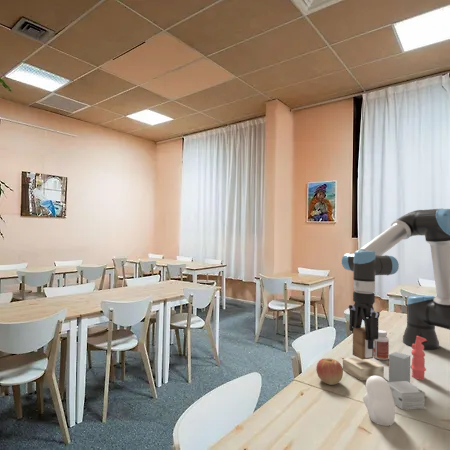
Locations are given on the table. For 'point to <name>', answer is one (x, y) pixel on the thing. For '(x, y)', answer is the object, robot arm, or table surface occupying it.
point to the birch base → (362, 368)
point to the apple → (329, 371)
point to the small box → (406, 395)
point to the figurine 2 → (418, 359)
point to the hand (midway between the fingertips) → (362, 354)
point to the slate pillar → (399, 367)
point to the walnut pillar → (359, 343)
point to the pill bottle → (381, 346)
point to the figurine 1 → (379, 401)
